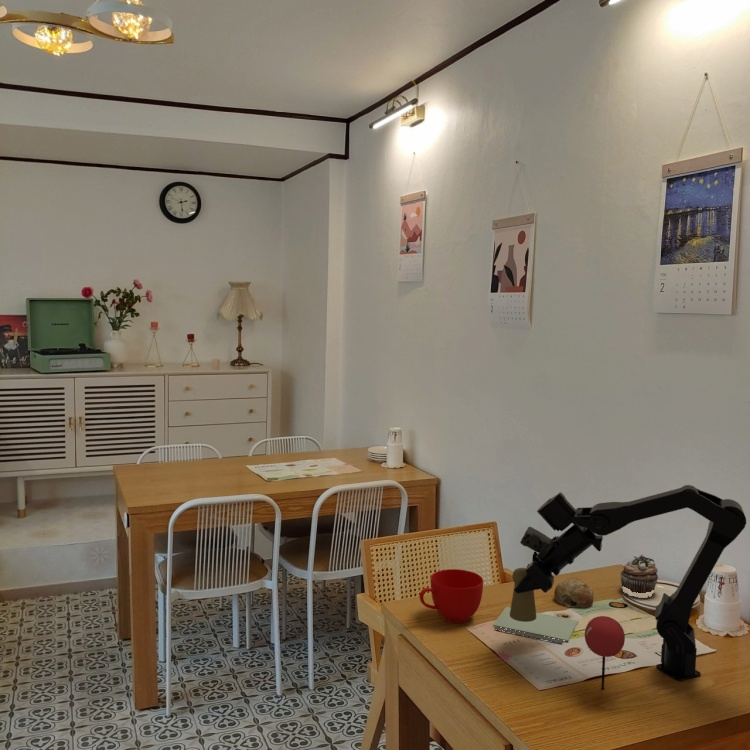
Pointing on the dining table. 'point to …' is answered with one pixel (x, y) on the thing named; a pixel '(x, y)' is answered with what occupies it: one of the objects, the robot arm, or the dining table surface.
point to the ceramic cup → (455, 594)
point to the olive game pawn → (522, 600)
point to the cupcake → (639, 575)
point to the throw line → (530, 635)
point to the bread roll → (574, 593)
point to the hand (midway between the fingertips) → (517, 587)
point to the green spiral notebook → (539, 625)
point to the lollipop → (604, 638)
